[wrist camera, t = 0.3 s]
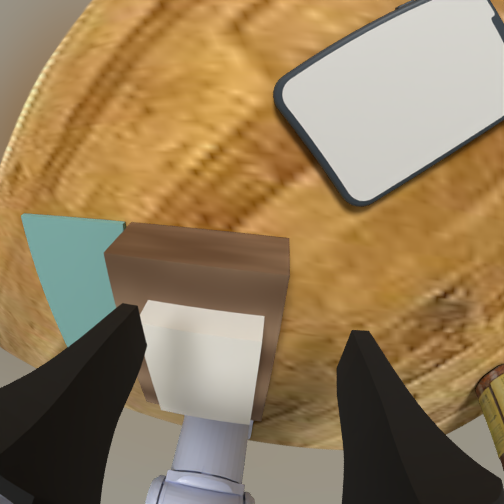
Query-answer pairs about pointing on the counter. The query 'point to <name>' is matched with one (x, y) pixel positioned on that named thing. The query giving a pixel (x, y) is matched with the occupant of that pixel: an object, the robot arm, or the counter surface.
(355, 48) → the phone case
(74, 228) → the mat
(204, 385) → the tile
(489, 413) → the sauce bottle
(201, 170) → the counter surface
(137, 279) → the block
